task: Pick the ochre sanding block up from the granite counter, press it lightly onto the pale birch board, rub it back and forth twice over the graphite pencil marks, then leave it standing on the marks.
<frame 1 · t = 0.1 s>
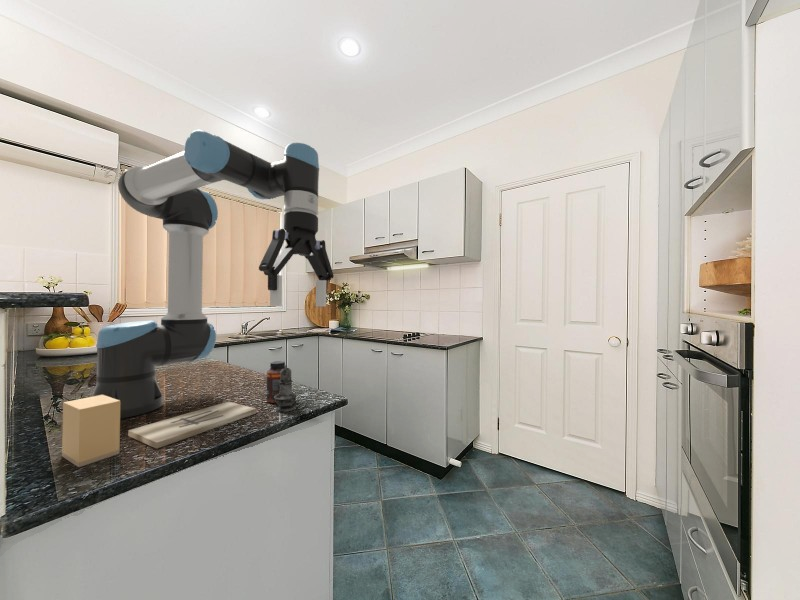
hand: (300, 306, 69), 28 cm above the counter, fingers open, 13 cm apart
grey chess piece: (285, 409, 82), on the counter
birch board: (198, 423, 72), on the counter
sanding block: (90, 455, 57), on the counter
supplement bottle: (277, 401, 89), on the counter
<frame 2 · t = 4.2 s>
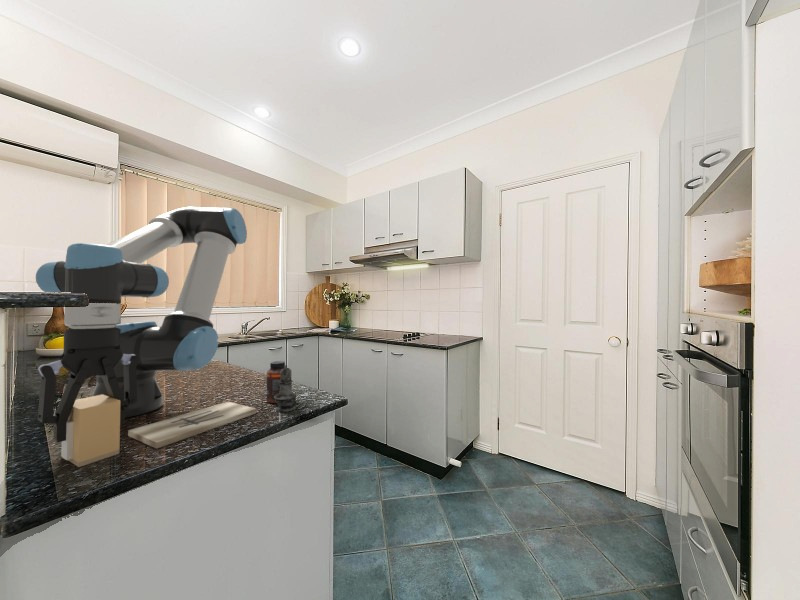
hand: (90, 450, 57), 1 cm above the counter, fingers closed on sanding block, 5 cm apart
sanding block: (90, 454, 57), on the counter, touching gripper
everything else where it was.
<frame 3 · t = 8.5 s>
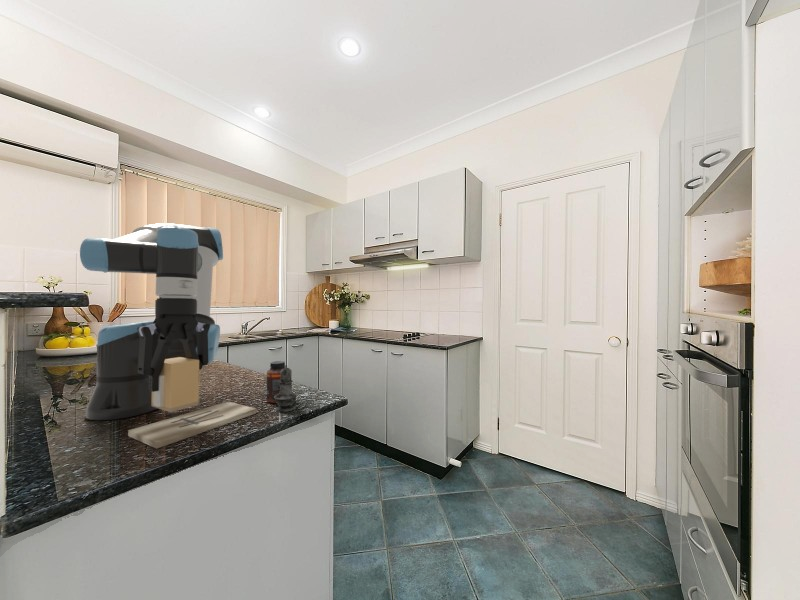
hand: (175, 401, 67), 7 cm above the counter, fingers closed on sanding block, 5 cm apart
sanding block: (175, 405, 67), point 6 cm above the counter, touching gripper
everything else where it was.
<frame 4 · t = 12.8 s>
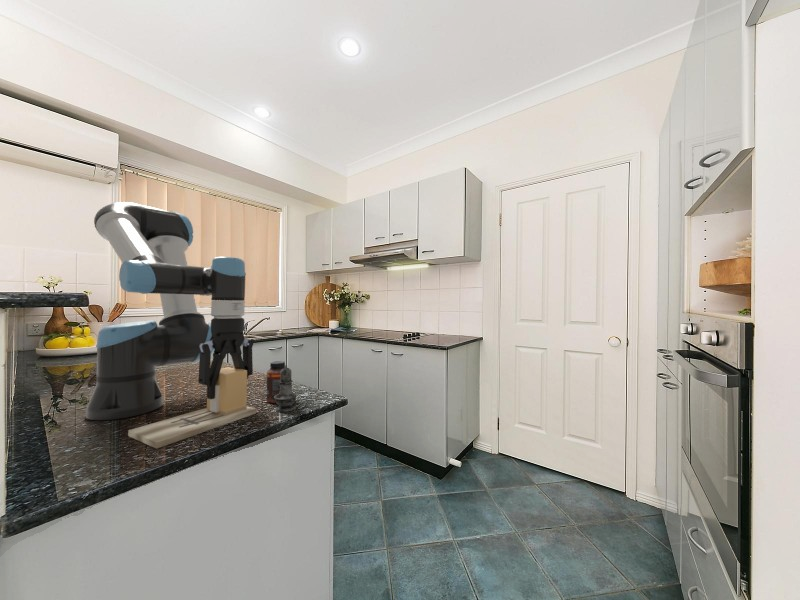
hand: (226, 407, 78), 2 cm above the counter, fingers closed on sanding block, 5 cm apart
sanding block: (226, 409, 78), point 1 cm above the counter, touching birch board, gripper
everything else where it was.
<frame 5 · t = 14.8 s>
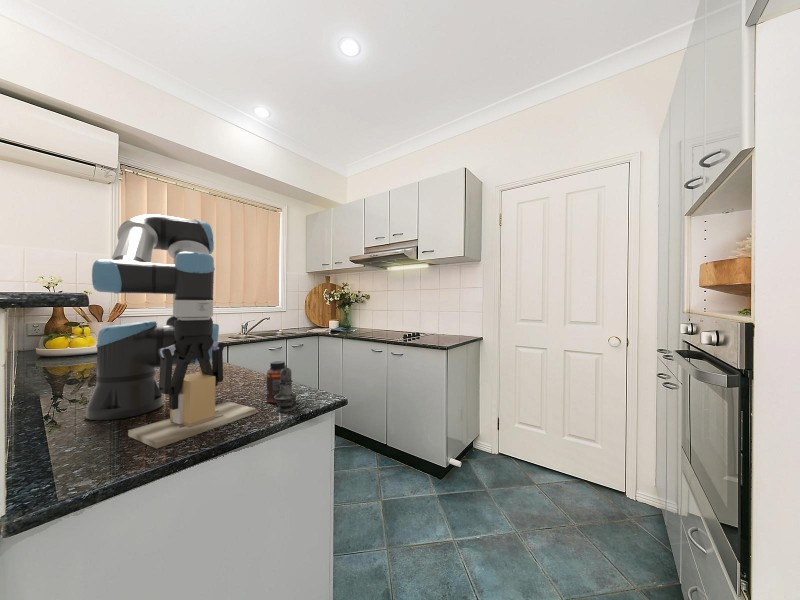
hand: (192, 417, 71), 2 cm above the counter, fingers closed on sanding block, 5 cm apart
sanding block: (192, 419, 71), point 1 cm above the counter, touching gripper
everything else where it was.
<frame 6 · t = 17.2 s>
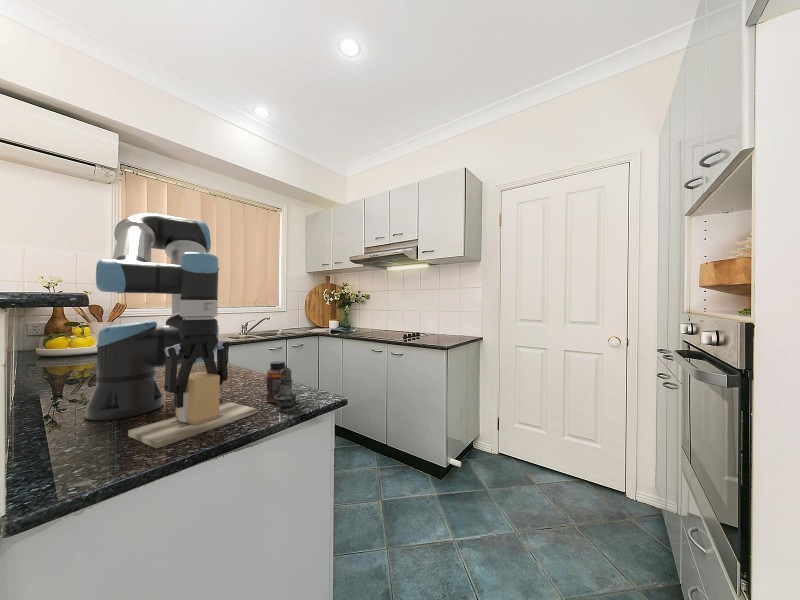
hand: (197, 416, 71), 2 cm above the counter, fingers closed on sanding block, 5 cm apart
sanding block: (197, 418, 71), point 1 cm above the counter, touching gripper
everything else where it was.
when the fingers open (3 cm above the counter, at t = 21.2 s): sanding block drops 2 cm, resting on birch board.
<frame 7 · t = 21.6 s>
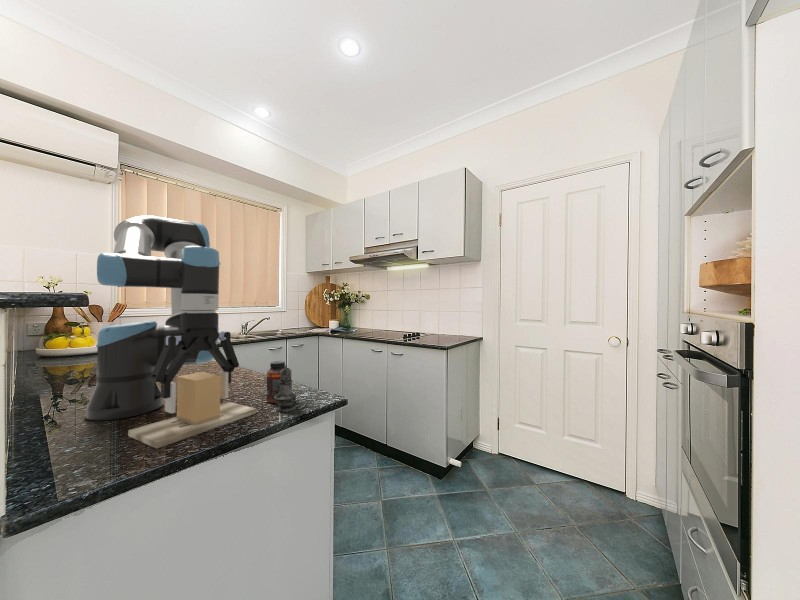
hand: (198, 404, 72), 5 cm above the counter, fingers open, 11 cm apart
sanding block: (198, 418, 72), point 1 cm above the counter, touching birch board
everything else where it was.
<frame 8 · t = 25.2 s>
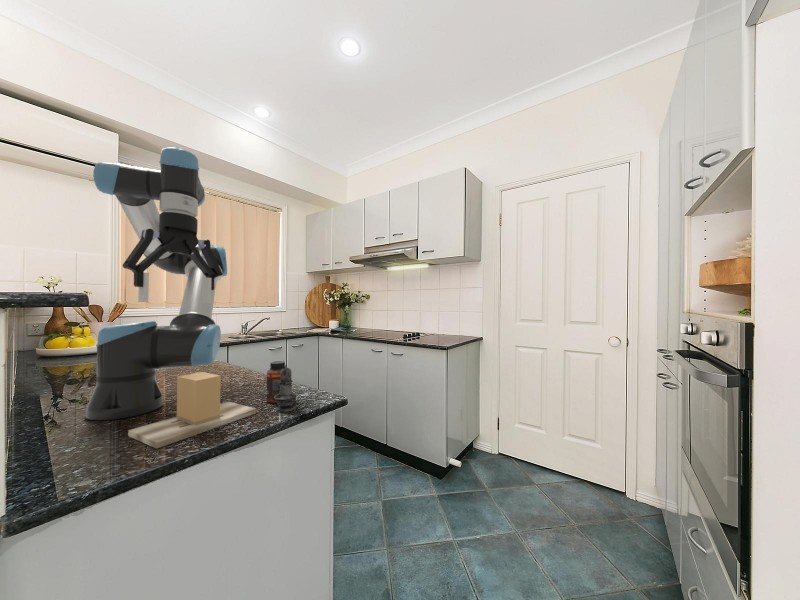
hand: (177, 302, 73), 29 cm above the counter, fingers open, 13 cm apart
nothing on the counter moved.
at the end: sanding block inside the target area on the birch board (0.0 cm from its centre), point 1.2 cm above the birch board's base; sanding block tilted 0°; the gripper is holding nothing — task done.
